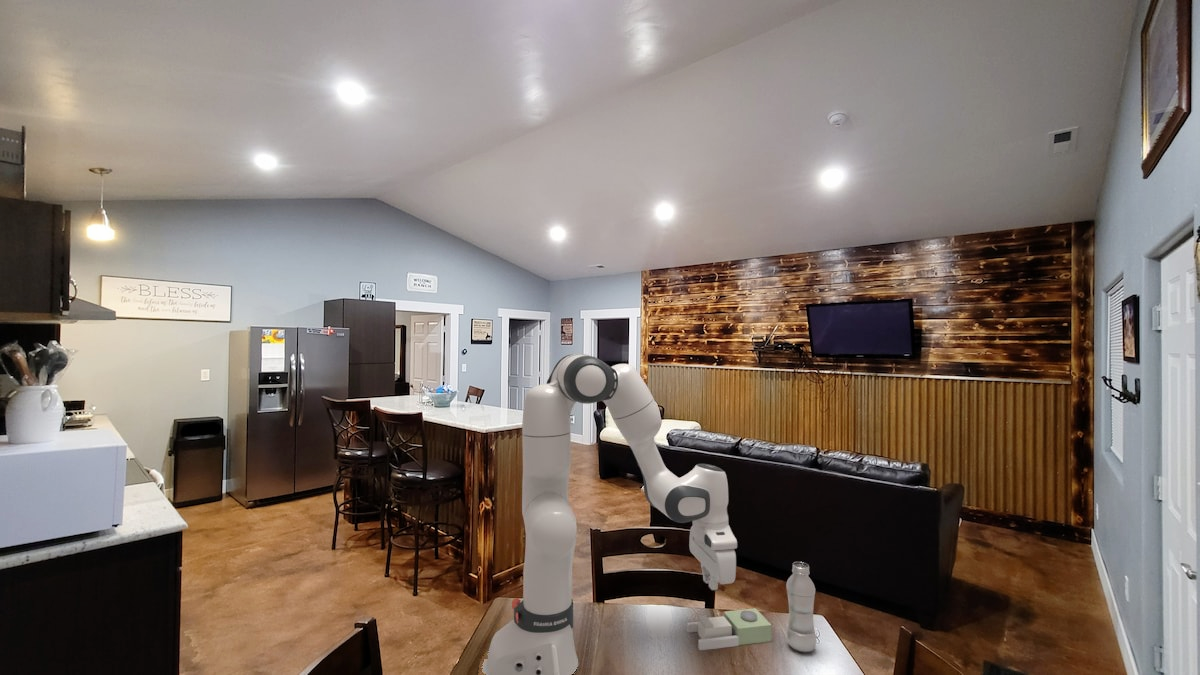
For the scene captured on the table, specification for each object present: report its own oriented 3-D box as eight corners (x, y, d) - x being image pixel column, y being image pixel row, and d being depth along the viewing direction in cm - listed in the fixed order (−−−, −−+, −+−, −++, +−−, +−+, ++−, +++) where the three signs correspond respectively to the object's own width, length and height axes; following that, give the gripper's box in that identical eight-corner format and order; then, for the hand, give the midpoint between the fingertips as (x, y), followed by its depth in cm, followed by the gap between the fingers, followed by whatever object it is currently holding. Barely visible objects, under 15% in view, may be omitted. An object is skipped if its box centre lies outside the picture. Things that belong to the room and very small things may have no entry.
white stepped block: (705, 645, 121) (705, 625, 121) (698, 635, 126) (698, 615, 126) (731, 642, 123) (731, 622, 123) (723, 631, 127) (723, 613, 127)
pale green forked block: (699, 650, 119) (699, 630, 119) (686, 630, 127) (686, 611, 127) (772, 641, 123) (772, 622, 123) (754, 623, 131) (754, 604, 131)
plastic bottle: (819, 658, 116) (818, 572, 117) (788, 654, 117) (788, 569, 118) (813, 642, 122) (812, 560, 123) (784, 638, 124) (784, 558, 124)
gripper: (683, 516, 134) (683, 568, 134) (715, 546, 114) (715, 607, 114) (705, 515, 135) (705, 566, 135) (740, 544, 115) (741, 604, 115)
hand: (710, 585), depth 124 cm, fingers open, 2 cm apart
